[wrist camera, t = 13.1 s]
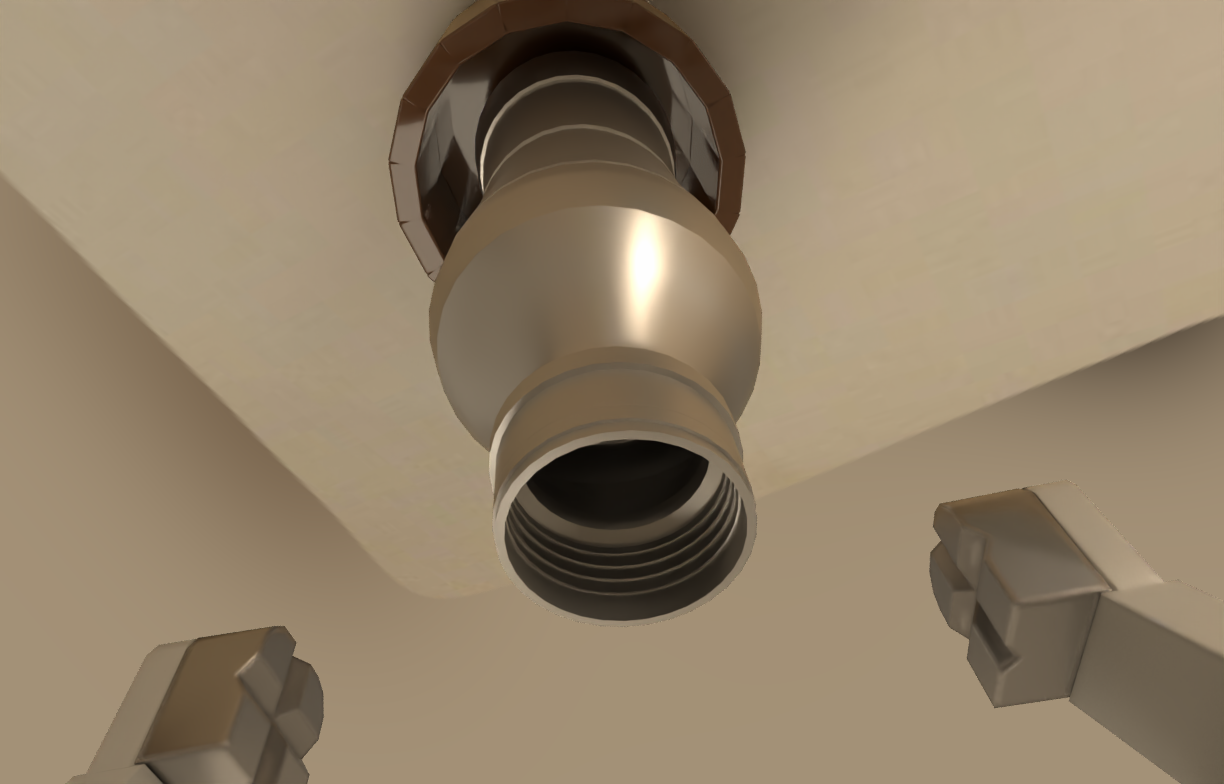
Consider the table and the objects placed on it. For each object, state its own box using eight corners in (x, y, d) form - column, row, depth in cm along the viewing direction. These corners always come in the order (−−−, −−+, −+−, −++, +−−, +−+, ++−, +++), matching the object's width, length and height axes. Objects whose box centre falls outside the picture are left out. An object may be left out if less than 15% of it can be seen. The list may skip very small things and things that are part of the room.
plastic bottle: (552, 259, 29) (570, 741, 13) (439, 107, 26) (260, 492, 9) (697, 167, 28) (933, 579, 11) (598, -8, 24) (724, 208, 8)
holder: (370, 9, 25) (332, 36, 20) (695, -58, 24) (731, -46, 20) (462, 297, 31) (448, 368, 26) (724, 245, 30) (757, 308, 26)
